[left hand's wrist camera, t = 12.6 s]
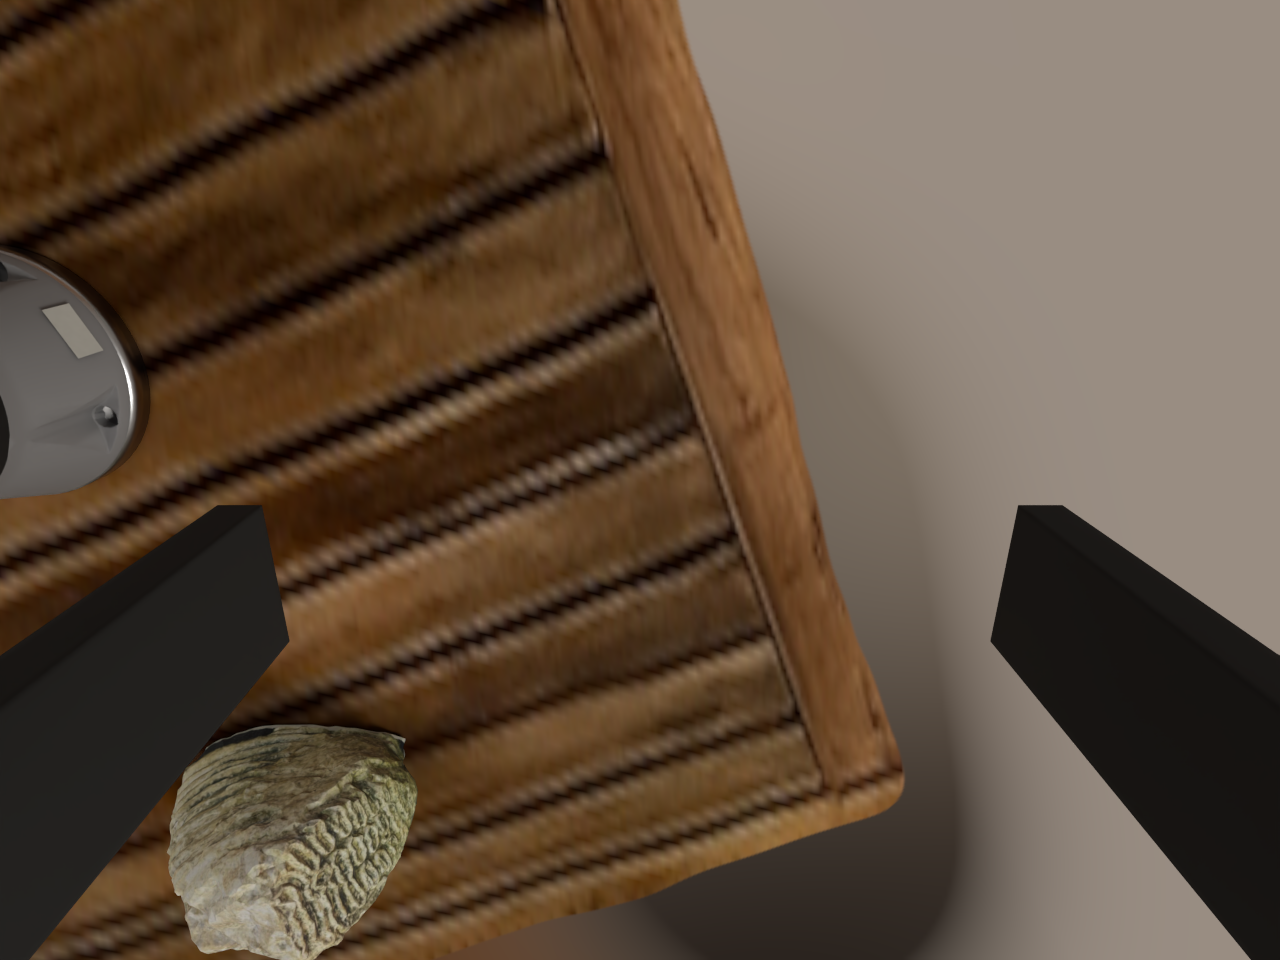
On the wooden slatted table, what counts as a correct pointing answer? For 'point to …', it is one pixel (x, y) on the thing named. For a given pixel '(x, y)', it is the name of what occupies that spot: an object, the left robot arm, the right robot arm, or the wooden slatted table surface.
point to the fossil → (288, 836)
